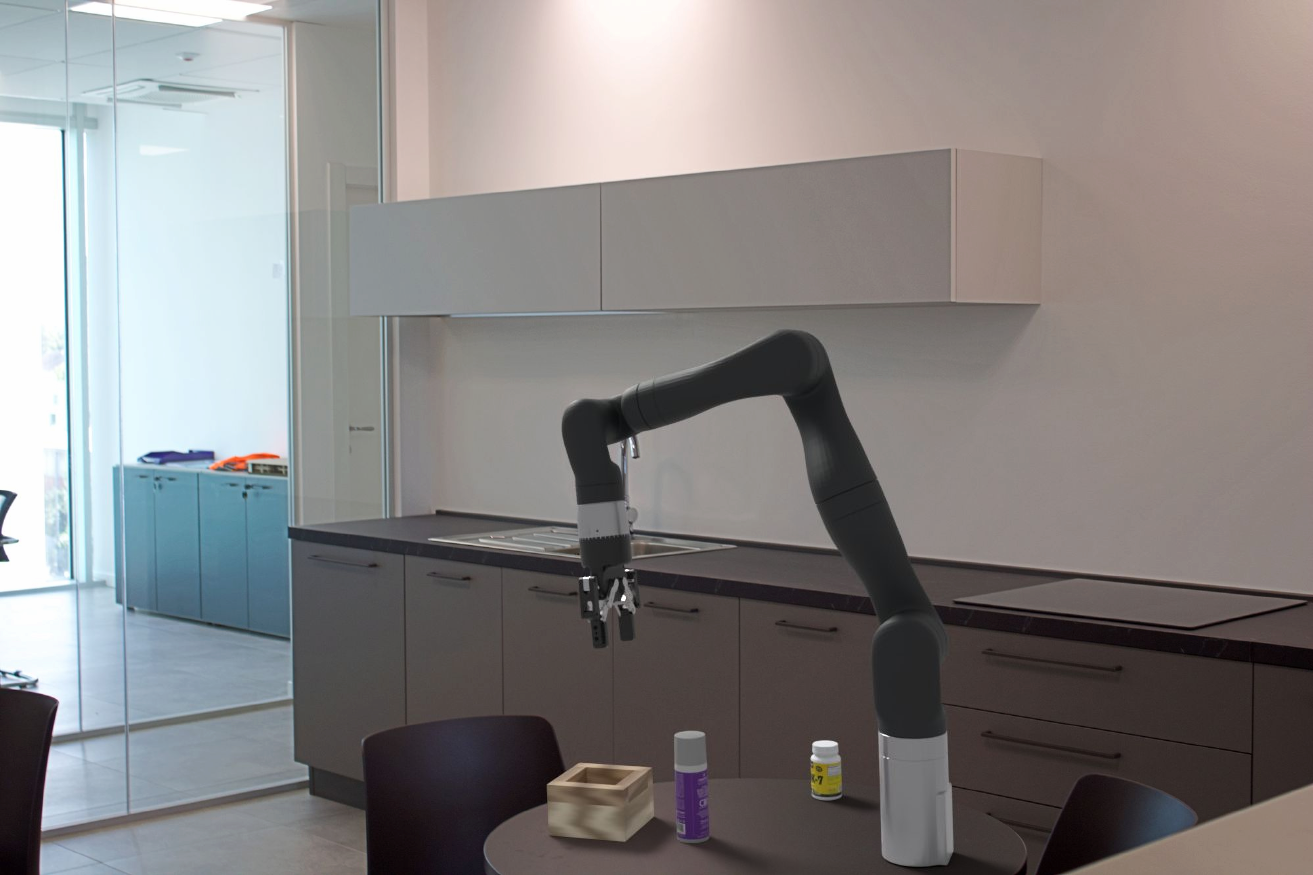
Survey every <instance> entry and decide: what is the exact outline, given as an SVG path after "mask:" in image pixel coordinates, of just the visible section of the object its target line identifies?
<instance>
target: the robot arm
mask: <svg viewBox="0 0 1313 875" xmlns="http://www.w3.org/2000/svg"><path fill="white" fill-rule="evenodd" d="M838 387H839V386H838V385H837V381H836V378H835V374H834V371H833V368H832V364H831V361H830V358H829V355H828V353H827V350H826V348H825V346H824V345H823V343H822V342H821V340H819V338H817V337H816V336H815V335H813V334H811V333H810V332H807V331H804V330H800V329H799V330H798V329H786V328H785V329H783V328H781V329H777V330H773V331H771V332H770V333H768V334H766V335H765V336H763V337H761V338H759V339H757V340H755V341H754V342H752V343H750V344H747V345H746V346H743V347H741V348H740V349H738V350H736V351H734V352H731V353H729V354H727V355H725V356H722V357H720V358H718V359H715V360H712V361H709V362H706V363H704V364H702V365H698V366H695V367H694V366H693V367H690V368H687V369H683V370H680V371H676V372H672V373H669V374H666V375H662V376H659V377H655V378H652V379H648V380H645V381H643V382H642V381H641V382H640V383H639V382H638V383H637V384H634V385H632V386H629V387H627V388H626V389H625V390H624V391H623V393H620V394H617V395H613V396H610V397H606V398H600V399H598V398H584V397H583V398H577V399H576V400H573V401H571V402H570V403H569V404H568V405H567V406H566V408H565V409H564V412H563V414H562V418H561V437H562V442H563V444H564V449H565V452H566V455H567V459H568V462H569V464H570V467H571V469H572V472H573V475H574V480H575V481H574V485H575V494H576V495H575V496H576V505H577V506H576V507H577V513H576V514H577V516H576V521H577V522H576V524H577V533H578V534H577V535H578V543H579V544H578V545H579V554H580V563H581V564H580V565H581V566H582V568H583V569H589V570H590V571H589V573H590V575H589V576H584V577H578V591H579V595H578V596H579V606H580V617H581V619H582V620H587V622H588V623H590V627H591V629H590V630H591V638H592V646H593V648H594V649H607V648H608V647H609V646H610V645H609V643H610V642H609V633H608V624H607V616H608V613H609V609H611V608H612V607H613V606H614V608H615V609H616V611H617V614H618V615H619V616H618V615H617V616H618V617H617V618H618V628H619V637H620V638H619V639H620V641H622V642H630V641H631V642H632V641H634V640H635V639H636V629H635V620H634V615H635V614H636V610H638V609H641V604H642V603H641V597H640V590H639V588H640V587H639V583H638V573H637V570H636V569H630V568H629V569H625V568H626V567H625V565H629V564H632V562H633V555H632V554H633V553H632V543H631V535H630V524H629V523H630V521H629V515H628V510H627V506H626V502H625V501H626V500H625V491H624V480H623V475H622V474H623V473H622V471H621V467H620V466H619V465H618V464H617V463H615V462H614V461H613V460H612V459H611V455H610V454H611V453H610V451H609V447H608V446H611V445H614V444H617V443H621V442H622V441H626V440H627V439H630V438H632V437H634V436H637V435H639V434H641V433H644V432H649V431H652V430H657V429H659V428H663V427H667V426H669V425H674V424H676V423H679V422H682V421H685V420H689V419H690V418H692V417H693V418H694V417H695V416H698V415H700V414H703V413H705V412H707V411H710V410H712V409H714V408H716V407H720V406H722V405H725V404H728V403H731V402H736V401H740V400H745V399H751V398H760V397H767V396H768V397H769V396H781V397H782V398H783V400H784V402H785V404H786V405H787V408H788V410H789V411H790V414H791V416H792V417H793V420H794V423H795V425H796V427H797V429H798V431H799V435H800V438H801V441H802V446H803V453H804V460H805V467H806V474H807V480H808V484H809V489H810V492H811V496H812V498H813V501H814V503H815V505H816V509H817V511H818V514H819V516H820V518H821V520H822V523H823V525H824V527H825V529H826V531H827V533H828V535H829V537H830V539H831V541H832V543H833V544H834V546H835V547H836V549H837V550H838V551H839V553H840V555H841V556H842V557H843V559H845V561H846V562H847V564H848V565H849V566H850V567H851V569H852V570H853V571H854V573H855V574H856V575H857V577H858V578H859V579H860V582H862V585H863V586H864V588H865V589H866V590H865V591H866V592H867V594H868V597H869V599H870V602H871V604H872V606H873V610H874V612H875V614H876V618H877V621H878V624H879V627H878V628H877V629H876V631H875V633H874V635H873V638H872V642H871V648H870V664H871V665H870V667H871V672H870V673H871V685H872V688H871V689H872V701H873V709H874V712H875V715H876V717H877V731H878V732H877V733H878V734H877V736H878V762H879V763H878V764H879V768H878V769H879V800H880V801H879V802H880V806H879V807H880V831H881V832H880V833H881V834H880V836H881V837H880V839H881V840H880V841H881V855H882V857H883V858H884V860H886V861H888V862H890V863H892V864H896V865H899V866H906V867H916V868H917V867H931V866H939V865H940V866H947V865H948V864H949V862H950V860H951V857H952V856H953V852H954V828H953V827H954V824H953V823H954V821H953V792H952V791H953V788H952V786H953V785H952V783H951V782H950V780H949V752H948V751H949V749H948V717H947V711H946V709H944V706H943V705H944V704H943V700H942V688H941V687H942V686H941V683H942V682H941V666H942V665H943V663H944V662H945V661H946V659H947V656H948V653H949V645H950V644H949V636H948V633H947V630H946V627H945V625H944V623H943V621H942V620H941V618H940V616H939V613H938V612H937V611H936V608H935V607H934V604H932V602H931V600H930V598H929V596H928V595H927V594H928V593H926V590H925V589H924V587H923V586H922V583H921V582H920V579H919V578H918V575H917V574H916V571H915V570H914V568H913V565H912V563H911V561H910V558H909V555H908V551H907V549H906V546H905V543H904V541H903V537H902V534H901V533H900V531H899V528H898V525H897V522H896V520H895V518H894V515H893V512H892V510H891V508H890V505H889V502H888V500H887V498H886V495H885V492H884V491H883V488H882V486H881V484H880V482H879V479H878V476H877V473H875V471H874V468H873V466H872V464H871V462H870V460H869V458H868V455H867V453H866V451H865V449H864V447H863V445H862V443H861V440H860V438H859V436H858V434H857V432H856V430H855V428H854V427H853V425H852V423H851V420H850V418H849V416H848V413H847V411H846V408H845V406H844V403H843V401H842V397H841V394H840V391H839V388H838ZM588 606H589V607H588ZM588 608H589V609H588Z"/></svg>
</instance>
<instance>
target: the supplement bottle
mask: <svg viewBox="0 0 1313 875" xmlns="http://www.w3.org/2000/svg"><path fill="white" fill-rule="evenodd" d="M811 751H812V753H813V754H812V755H811V756H810V779H811V780H810V781H811V783H810V785H811V796H812V797H813V798H814V799H816V800H820V801H834V800H838V799H841V798H842V796H843V785H842V782H843V780H842V759H841V756H840V755H839V743H838V742H836V741H833V740H816V741H814V742H813V743H812V750H811Z"/></svg>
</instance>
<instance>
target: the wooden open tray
mask: <svg viewBox="0 0 1313 875" xmlns="http://www.w3.org/2000/svg"><path fill="white" fill-rule="evenodd" d="M653 776H654V775H653V767H649V766H637V765H636V766H633V765H620V764H619V765H618V764H603V763H589V762H588V763H587V762H579V763H577V764H575V765H574V766H572V767H571V768H570V769H568V770H566V771H565V772H563V773H562V774H560V775H559V776H558V777H556V778H554V779H553V780H551V781H550V782H549V783H547V784H546V793H547V795H546V796H547V797H546V798H547V799H546V800H547V801H546V802H547V820H548V822H547V823H548V824H547V825H548V826H547V827H548V836H551V837H552V836H554V837H564V838H566V837H567V838H575V839H577V838H578V839H589V840H590V839H591V840H601V841H610V842H611V841H613V842H623V843H625V842H627V841H628V840H629V839H630V838H631V837H633V836H634V834H636V833H637V832H638V831H639V830H640V829H642V828H643V827H644V826H645V825H646V824H647V823H648V822H650V821H651V820H652V819H653V818H654V817H655V809H654V807H655V806H654V804H655V803H654V784H653V781H654V780H653Z"/></svg>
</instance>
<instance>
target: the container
mask: <svg viewBox="0 0 1313 875" xmlns="http://www.w3.org/2000/svg"><path fill="white" fill-rule="evenodd" d="M673 737H674V742H673V744H674V746H673V747H674V748H673V749H674V787H675V815H676V837H677V838H676V839H677V840H678V841H679V842H681V843H685V844H698V843H699V844H700V843H703V842H706V841H708V840H709V839H710V818H709V817H710V813H709V810H710V809H709V783H708V782H709V781H708V762H707V761H708V760H707V758H708V757H707V745H706V744H707V743H706V734H705V732H702V731H699V730H685V731H679V732H676V733H675V734H674V736H673Z"/></svg>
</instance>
